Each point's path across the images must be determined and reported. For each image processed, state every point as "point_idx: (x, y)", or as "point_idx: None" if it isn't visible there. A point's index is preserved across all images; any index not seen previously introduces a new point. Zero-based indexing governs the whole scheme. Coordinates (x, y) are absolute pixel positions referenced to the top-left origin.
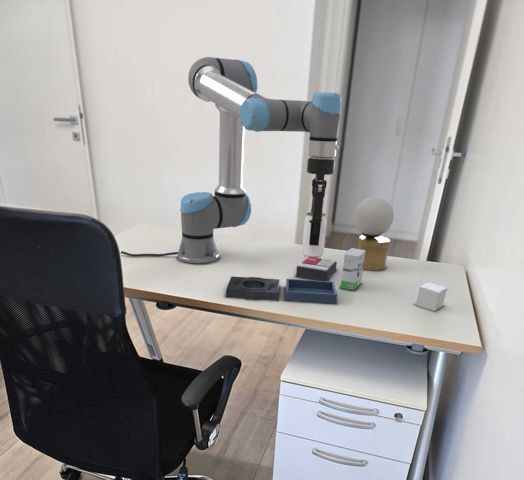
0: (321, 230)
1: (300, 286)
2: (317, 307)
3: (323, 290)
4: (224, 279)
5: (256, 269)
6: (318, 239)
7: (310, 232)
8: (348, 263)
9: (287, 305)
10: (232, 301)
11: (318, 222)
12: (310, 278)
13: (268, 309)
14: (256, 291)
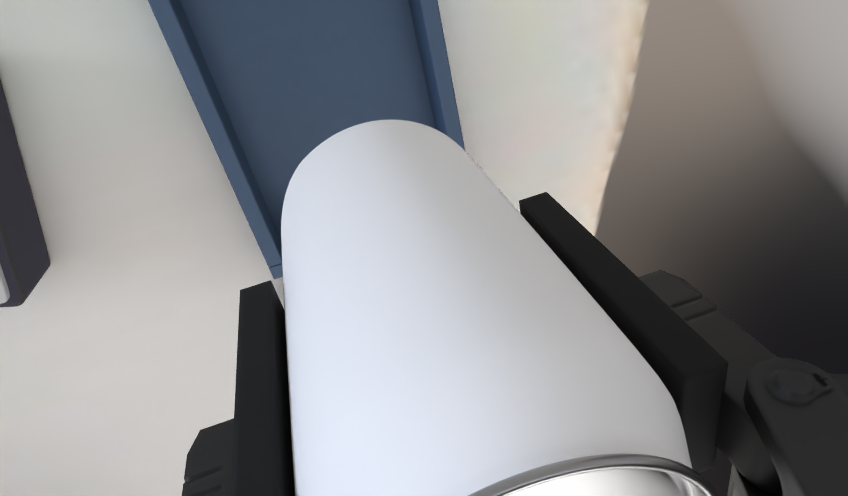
0: (577, 280)
1: (255, 181)
2: (491, 3)
3: (222, 24)
4: None
5: (94, 464)
6: (583, 231)
7: None
8: None
9: (512, 161)
10: None
11: (844, 381)
12: (25, 172)
13: (576, 219)
14: None
